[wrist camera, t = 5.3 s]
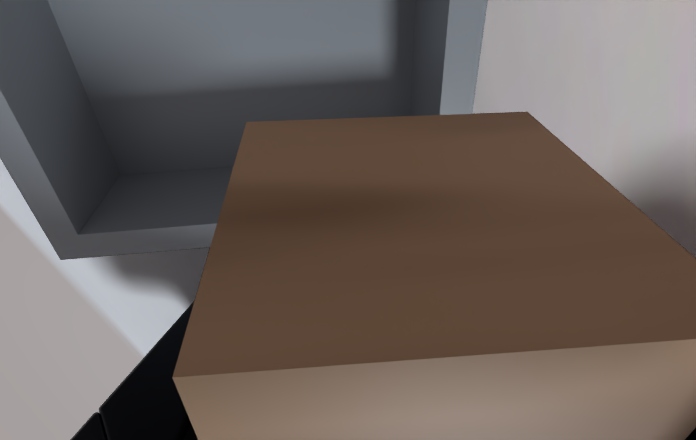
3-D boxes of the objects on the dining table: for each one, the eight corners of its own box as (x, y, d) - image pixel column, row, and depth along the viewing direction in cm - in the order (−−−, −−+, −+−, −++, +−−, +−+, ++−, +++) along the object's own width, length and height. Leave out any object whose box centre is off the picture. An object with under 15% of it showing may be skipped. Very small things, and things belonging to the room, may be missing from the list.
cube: (478, 305, 11) (587, 548, 6) (276, 318, 10) (257, 583, 6) (527, 111, 8) (781, 333, 4) (246, 122, 7) (173, 377, 3)
